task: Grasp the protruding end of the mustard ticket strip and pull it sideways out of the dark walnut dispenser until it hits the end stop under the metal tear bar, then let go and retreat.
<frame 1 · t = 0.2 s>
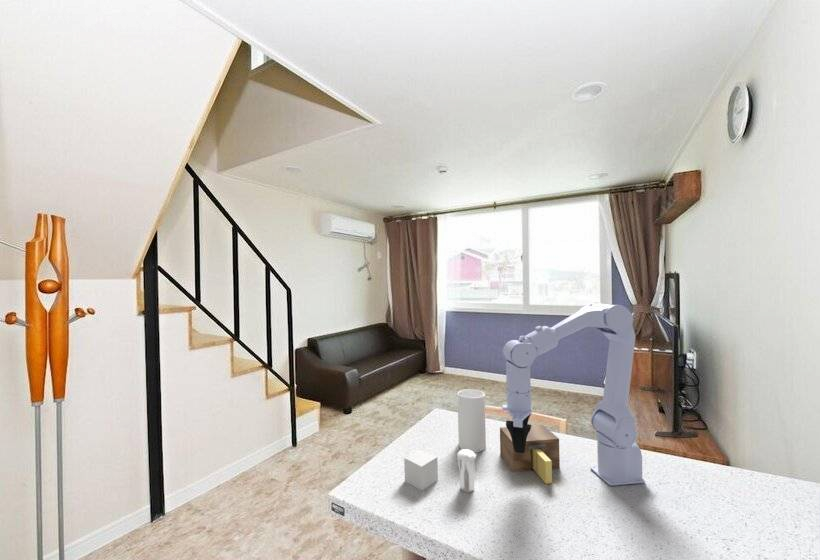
hand: (520, 444, 85), 10 cm above the table, fingers open, 7 cm apart
ticket: (535, 457, 92), point 3 cm above the table, slide at 0.0 cm
cup: (472, 446, 105), on the table
white cube: (421, 481, 87), on the table
dispenser: (528, 460, 96), on the table
milkshake: (468, 489, 84), on the table
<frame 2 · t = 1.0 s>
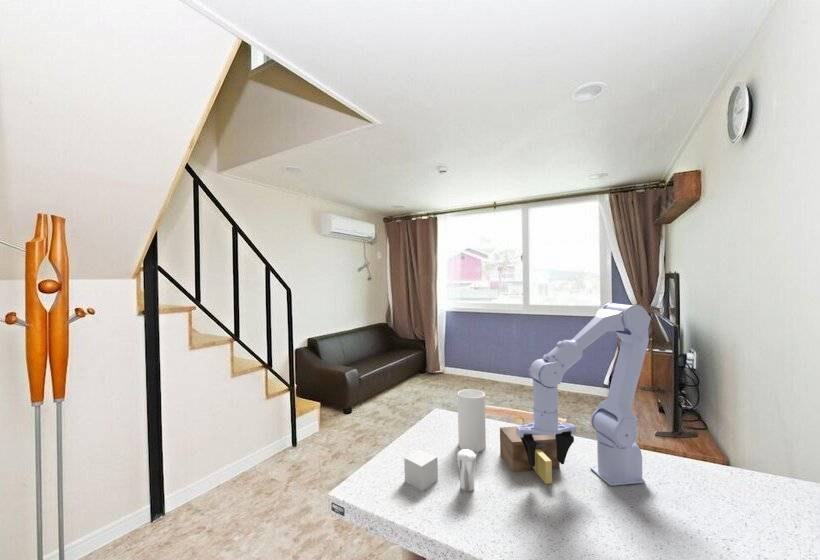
hand: (546, 463, 86), 5 cm above the table, fingers open, 7 cm apart
nothing on the table moved.
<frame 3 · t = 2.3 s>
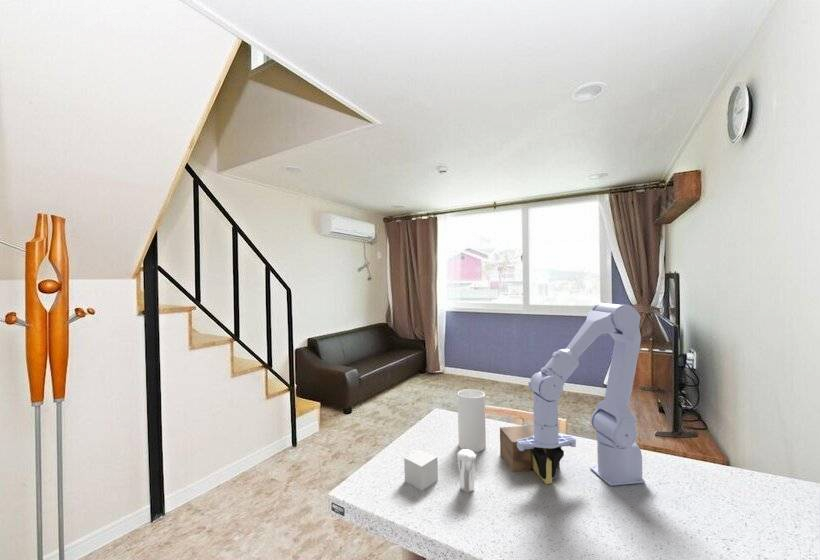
hand: (546, 476, 86), 1 cm above the table, fingers closed on ticket, 2 cm apart
ticket: (535, 457, 92), point 3 cm above the table, slide at 0.0 cm, touching gripper
everything else where it was.
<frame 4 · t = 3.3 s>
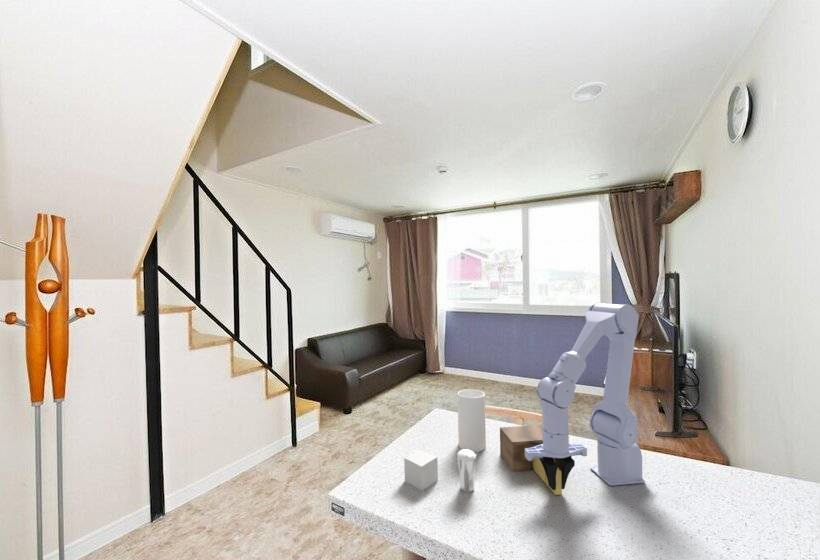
hand: (556, 487, 81), 1 cm above the table, fingers closed on ticket, 2 cm apart
ticket: (543, 466, 87), point 3 cm above the table, slide at 4.5 cm, touching gripper
everything else where it was.
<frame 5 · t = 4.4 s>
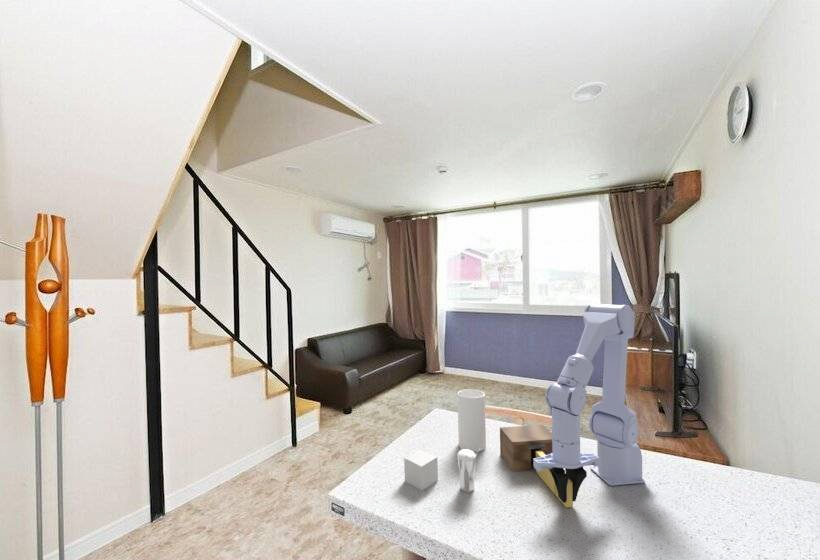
hand: (567, 499, 77), 1 cm above the table, fingers closed on ticket, 2 cm apart
ticket: (552, 476, 83), point 3 cm above the table, slide at 8.9 cm, touching gripper
everything else where it was.
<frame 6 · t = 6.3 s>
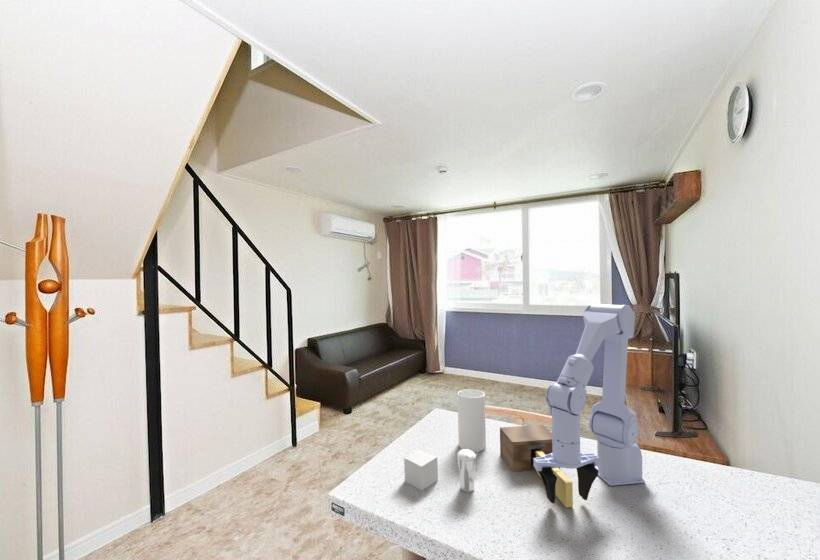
hand: (567, 498, 77), 1 cm above the table, fingers open, 7 cm apart
ticket: (552, 476, 83), point 3 cm above the table, slide at 8.9 cm
everything else where it was.
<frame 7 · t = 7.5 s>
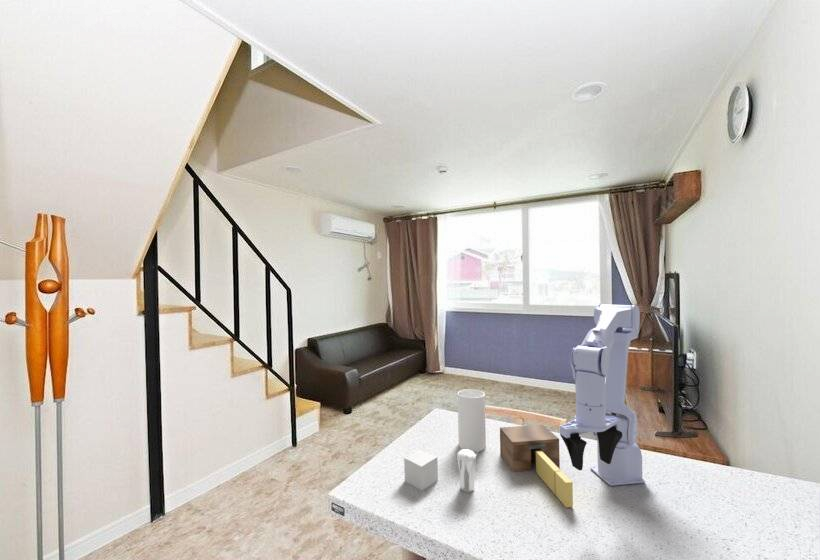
hand: (591, 464, 74), 10 cm above the table, fingers open, 7 cm apart
nothing on the table moved.
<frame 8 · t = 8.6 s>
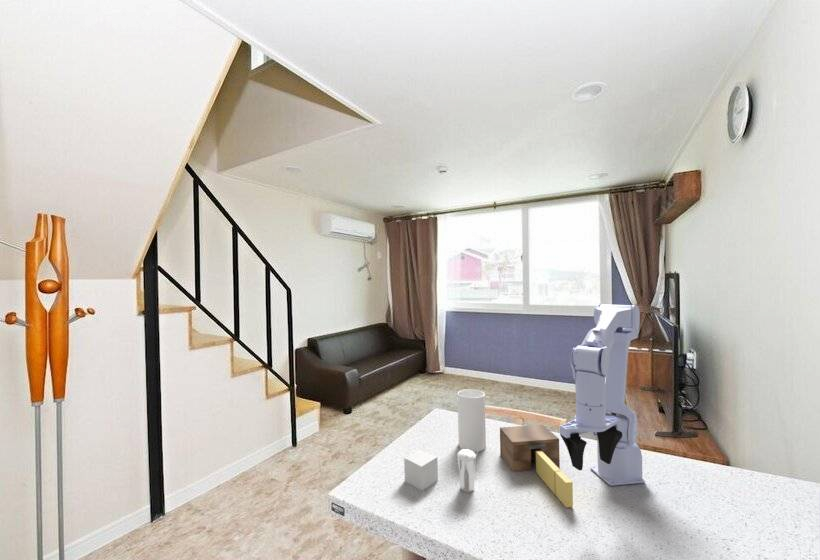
hand: (591, 464, 74), 10 cm above the table, fingers open, 7 cm apart
nothing on the table moved.
at the end: ticket slide at 8.9 cm; the gripper is holding nothing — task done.
